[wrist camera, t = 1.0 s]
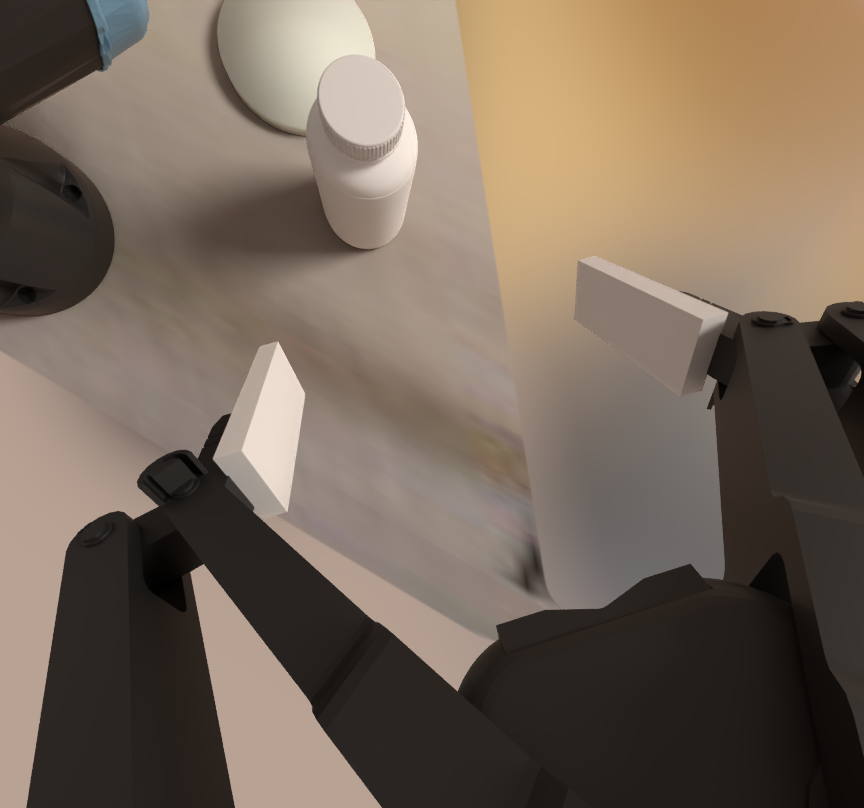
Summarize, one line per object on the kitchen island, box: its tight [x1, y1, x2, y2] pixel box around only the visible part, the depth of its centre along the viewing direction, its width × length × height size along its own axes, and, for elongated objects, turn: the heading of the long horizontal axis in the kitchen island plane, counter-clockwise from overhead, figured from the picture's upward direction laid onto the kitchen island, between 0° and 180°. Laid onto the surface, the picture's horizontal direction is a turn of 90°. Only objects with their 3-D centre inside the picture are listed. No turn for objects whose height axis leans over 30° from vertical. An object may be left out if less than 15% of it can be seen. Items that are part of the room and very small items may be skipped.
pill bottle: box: [306, 54, 418, 249], centre depth 29 cm, size 8×8×15 cm
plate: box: [217, 0, 375, 136], centre depth 33 cm, size 14×14×1 cm
